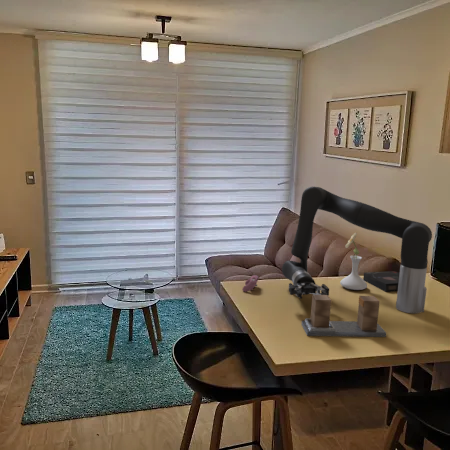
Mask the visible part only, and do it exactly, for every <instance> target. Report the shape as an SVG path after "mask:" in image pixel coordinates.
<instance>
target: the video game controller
mask: <svg viewBox="0 0 450 450" xmlns="http://www.w3.org/2000/svg"><path fill="white" fill-rule="evenodd" d="M258 280H259V276H258V275H256V274H253V275H251V277H250V278H248V279H247V280H246V281H245V282H244V284H245V285H244V286H243V287H242V292H250V291H253V290H254V288H256V287H257V286H258V284H257V282H258Z"/></svg>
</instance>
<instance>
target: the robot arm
mask: <svg viewBox="0 0 450 450" xmlns="http://www.w3.org/2000/svg"><path fill="white" fill-rule="evenodd" d="M318 210H319V211H324V212H327V213H328V212H329V213H332V214H334V215H336V216H338V217H339V218H341V219H343V220H344V221H346V222H348V223H350V224H352V225H353V226H356V227H359V228H362V229H365V230H367V231H371V232H377V233H384V234H389V235H392V236H394V237H398V238H400V239H401V245H400V247H401V248H400V249H401V250H400V267H399V273H400V275H399V284H398V291H396V292H397V293H396V302H395V303H396V304H395V308H396V309H397V310H398V311H401V312H403V313H408V314H421V313H424V312H425V305H426V296H427V291H428V290H427V287H426V286H425V285H426V277H427V270H428V254H429V245H430V242H431V240H432V238H433V233H432V229H431V228H430V227H429V225H427V224H425V223H423V222H419V221H415V220H411V219H407V218H402V217H400V216H398V215H394V214H392V213H390V212H388V211H385V210H382V209H380V208H377V207H375V206H372V205H370V204H368V203H367V204H366V203H364V202H361V201H357V200H354V199H348V198H345V197H342V196H338V195H336V194H334V193H332V192H330V191H328V190H327V189H324V188H322V187H319V186H308V187H306V188H305V189H304V190H303V192H302V194H301V201H300V211H299V218H298V223H297V228H296V232H295V237H294V240H293V243H292V247H291V252H290V253H291V255H292V256H293V257H296V258H298V259H300V262H298V261H294V260H286V261H285V262H283V264H282V267H281V272H282V275H283V276H284V277H285V278H286V279H287V280H289V281H290V282H292V283H288V292H289V295H291V296H294V295H295V296H296V297H297V298H299V300H300V299H302V298H303V296H307V295H328V296H329V295H330V288H329V287H328V285H326V284H324V283H322V284H321V285H318V284H316V282H315V279H314V278H313V277H312V276H311V274H310V273H309V272H308V256H309V252H310V247H311V245H312V239H313V231H314V230H313V228H314V221H315V217H316V215H317V212H318ZM329 297H330V296H329Z"/></svg>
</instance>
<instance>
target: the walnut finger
mask: <svg viewBox="0 0 450 450" xmlns="http://www.w3.org/2000/svg"><path fill="white" fill-rule="evenodd" d="M332 302H333V301H332V299H331V298H330V296H328V295H314V294H311V308H310V309H311V310H310V323H311V325H312V327H321V328H329V321H331V320H330V318H331V308H332Z"/></svg>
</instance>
